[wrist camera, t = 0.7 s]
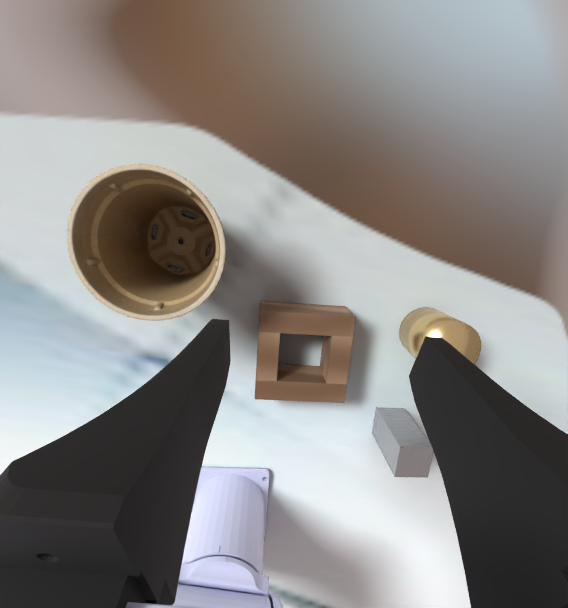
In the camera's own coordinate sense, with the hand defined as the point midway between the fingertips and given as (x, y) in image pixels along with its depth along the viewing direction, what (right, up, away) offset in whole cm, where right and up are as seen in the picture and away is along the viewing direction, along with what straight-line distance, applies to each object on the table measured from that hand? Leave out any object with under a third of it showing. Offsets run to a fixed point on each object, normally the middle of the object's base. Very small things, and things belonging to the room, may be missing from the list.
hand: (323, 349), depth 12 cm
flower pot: (-10, +7, +16) cm, 20 cm away
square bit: (+9, -10, +21) cm, 25 cm away
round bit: (+12, -1, +19) cm, 23 cm away
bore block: (0, -2, +19) cm, 19 cm away
